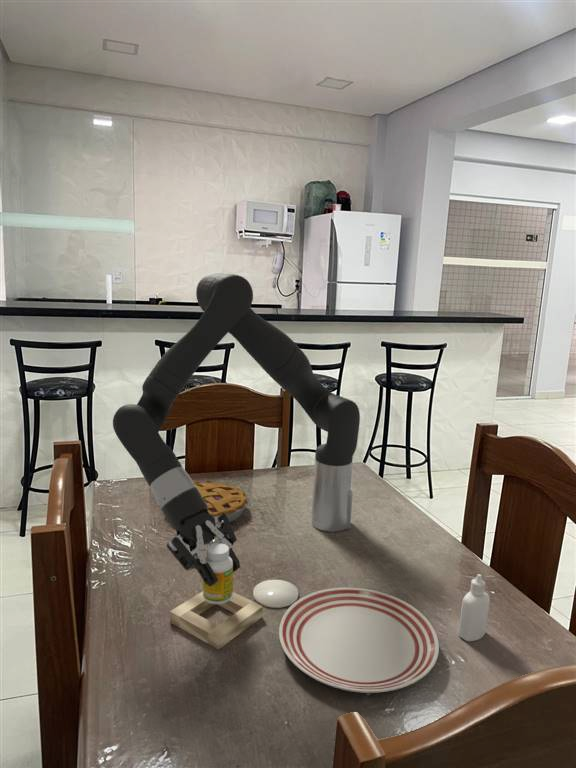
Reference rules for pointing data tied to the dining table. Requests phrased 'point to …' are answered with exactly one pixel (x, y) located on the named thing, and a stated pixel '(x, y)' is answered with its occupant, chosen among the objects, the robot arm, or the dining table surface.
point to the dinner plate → (359, 640)
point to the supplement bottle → (219, 574)
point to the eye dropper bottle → (474, 611)
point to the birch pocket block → (207, 630)
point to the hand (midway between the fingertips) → (225, 576)
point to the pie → (222, 499)
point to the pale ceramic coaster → (275, 593)
